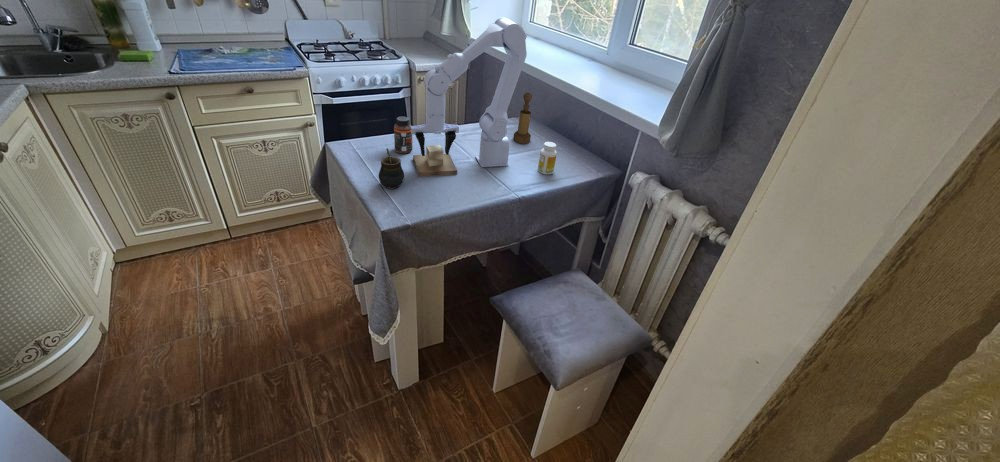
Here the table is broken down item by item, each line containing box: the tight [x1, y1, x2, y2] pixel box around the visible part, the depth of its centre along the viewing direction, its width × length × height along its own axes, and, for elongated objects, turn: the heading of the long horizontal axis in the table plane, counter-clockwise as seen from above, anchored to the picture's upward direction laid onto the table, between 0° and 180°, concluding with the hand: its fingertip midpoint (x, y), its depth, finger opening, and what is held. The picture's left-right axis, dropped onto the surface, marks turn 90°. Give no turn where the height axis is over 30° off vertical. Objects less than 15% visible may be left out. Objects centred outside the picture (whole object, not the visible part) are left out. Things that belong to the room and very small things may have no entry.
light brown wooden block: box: [412, 153, 458, 177], centre depth 139 cm, size 12×12×2 cm
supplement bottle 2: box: [537, 141, 558, 175], centre depth 142 cm, size 5×5×10 cm
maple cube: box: [425, 144, 445, 166], centre depth 137 cm, size 4×4×5 cm
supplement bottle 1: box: [393, 116, 413, 155], centre depth 144 cm, size 6×6×11 cm
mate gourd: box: [378, 148, 405, 189], centre depth 125 cm, size 7×8×10 cm
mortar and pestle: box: [512, 92, 533, 145], centre depth 159 cm, size 7×6×18 cm
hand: (434, 154), depth 137 cm, fingers open, 7 cm apart
